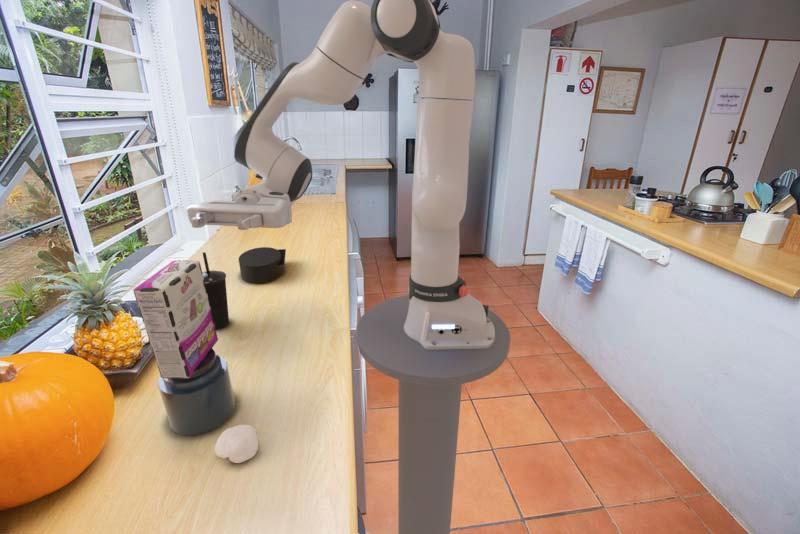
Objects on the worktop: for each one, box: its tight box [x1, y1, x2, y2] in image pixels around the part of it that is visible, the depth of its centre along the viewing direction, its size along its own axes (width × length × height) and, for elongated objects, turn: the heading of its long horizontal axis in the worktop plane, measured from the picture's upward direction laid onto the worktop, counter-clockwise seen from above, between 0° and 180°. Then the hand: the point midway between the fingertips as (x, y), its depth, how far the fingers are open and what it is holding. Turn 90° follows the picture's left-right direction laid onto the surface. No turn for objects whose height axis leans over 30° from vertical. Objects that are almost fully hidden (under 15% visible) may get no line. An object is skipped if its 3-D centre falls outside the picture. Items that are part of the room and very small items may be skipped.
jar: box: [157, 348, 236, 437], centre depth 69 cm, size 11×11×12 cm
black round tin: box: [238, 246, 287, 285], centre depth 130 cm, size 14×18×8 cm
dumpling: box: [214, 424, 259, 464], centre depth 63 cm, size 7×5×4 cm
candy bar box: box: [132, 259, 219, 379], centre depth 64 cm, size 11×5×16 cm, turn 0°
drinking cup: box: [202, 251, 230, 330], centre depth 96 cm, size 8×8×20 cm
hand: (217, 224), depth 73 cm, fingers open, 8 cm apart
